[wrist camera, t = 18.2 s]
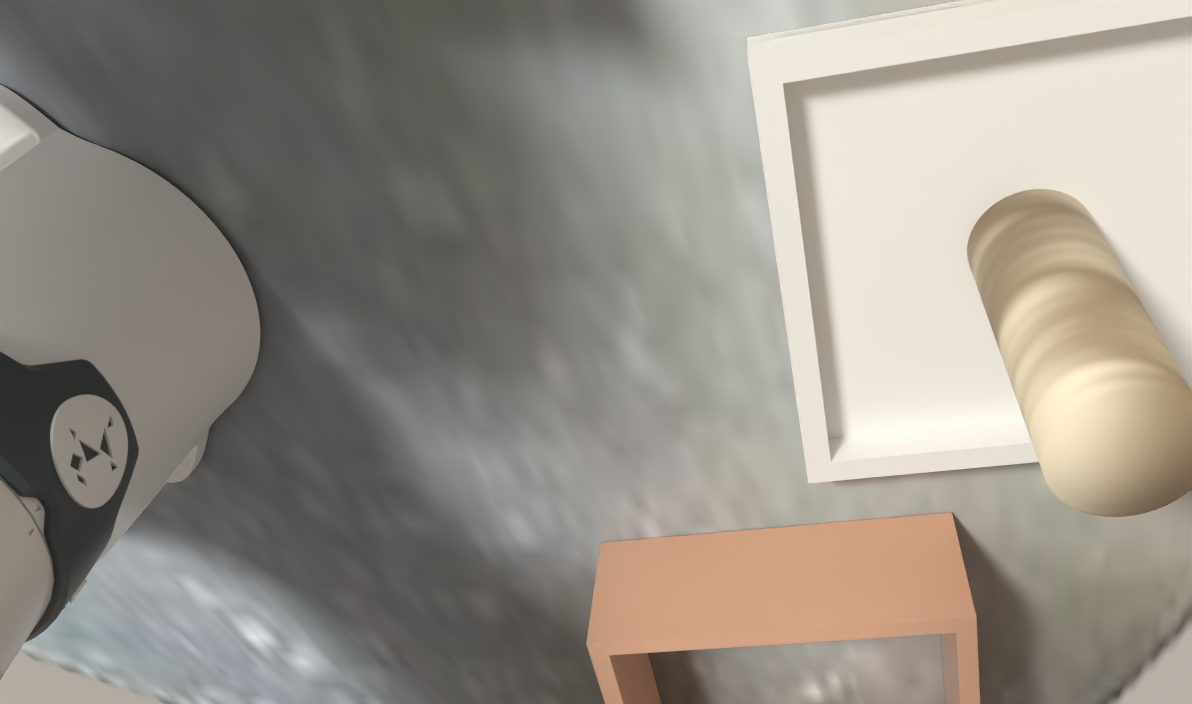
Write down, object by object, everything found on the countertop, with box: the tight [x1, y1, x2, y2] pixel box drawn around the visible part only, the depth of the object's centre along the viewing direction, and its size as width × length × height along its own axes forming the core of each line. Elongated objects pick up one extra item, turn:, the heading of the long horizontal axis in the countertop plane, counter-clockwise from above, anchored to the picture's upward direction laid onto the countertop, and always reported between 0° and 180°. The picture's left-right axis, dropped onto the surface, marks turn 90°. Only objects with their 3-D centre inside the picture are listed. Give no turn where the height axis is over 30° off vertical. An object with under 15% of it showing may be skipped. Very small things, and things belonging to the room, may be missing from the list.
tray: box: [747, 0, 1192, 483], centre depth 40 cm, size 18×18×2 cm
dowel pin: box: [967, 189, 1192, 517], centre depth 35 cm, size 4×4×12 cm
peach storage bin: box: [586, 513, 980, 704], centre depth 52 cm, size 16×16×6 cm
